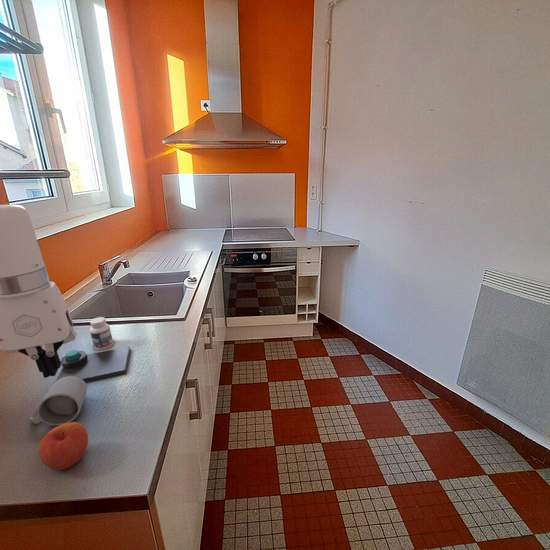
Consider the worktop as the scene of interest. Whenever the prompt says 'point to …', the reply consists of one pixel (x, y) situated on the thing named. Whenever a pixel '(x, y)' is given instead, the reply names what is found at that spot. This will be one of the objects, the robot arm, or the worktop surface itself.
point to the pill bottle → (100, 333)
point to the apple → (63, 445)
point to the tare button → (72, 355)
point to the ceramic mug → (61, 402)
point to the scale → (96, 365)
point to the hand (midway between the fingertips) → (52, 372)
